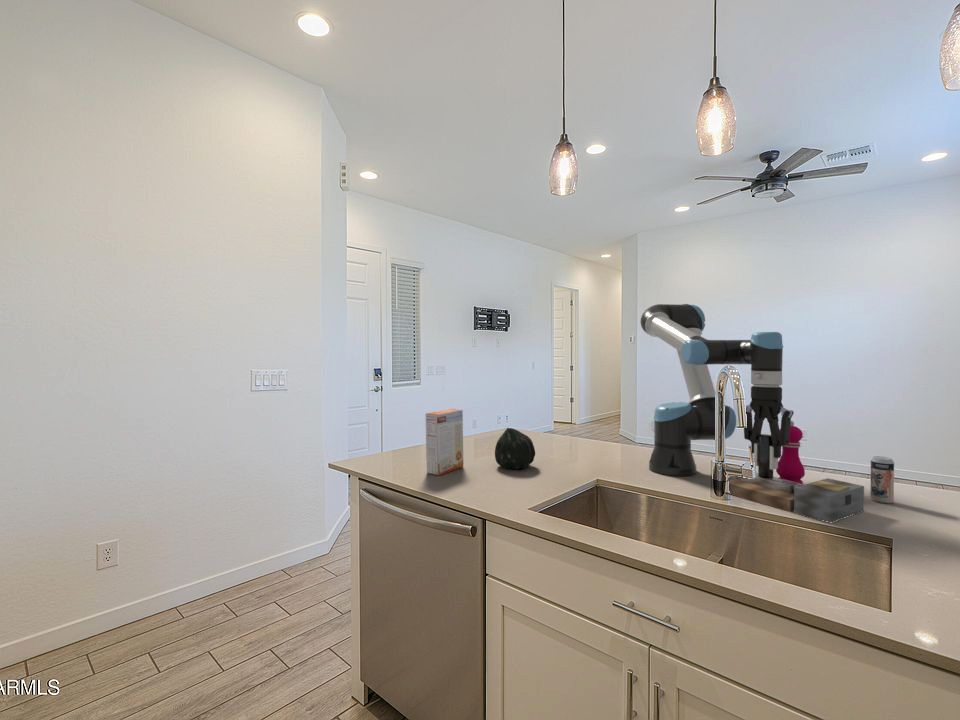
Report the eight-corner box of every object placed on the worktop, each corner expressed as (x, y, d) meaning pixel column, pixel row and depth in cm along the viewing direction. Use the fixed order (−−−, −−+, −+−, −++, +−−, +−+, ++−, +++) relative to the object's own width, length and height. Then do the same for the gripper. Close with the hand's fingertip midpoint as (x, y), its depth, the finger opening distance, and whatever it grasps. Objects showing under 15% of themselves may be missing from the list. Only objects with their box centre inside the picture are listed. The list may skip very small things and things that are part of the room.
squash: (544, 448, 163) (517, 417, 165) (540, 459, 149) (511, 426, 150) (516, 471, 166) (490, 441, 168) (509, 485, 152) (481, 451, 153)
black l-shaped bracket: (751, 481, 128) (751, 434, 128) (758, 479, 130) (758, 433, 129) (797, 493, 117) (797, 441, 117) (804, 491, 119) (804, 440, 119)
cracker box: (451, 464, 161) (450, 408, 161) (464, 467, 158) (463, 409, 157) (425, 473, 150) (424, 412, 150) (438, 476, 146) (438, 413, 146)
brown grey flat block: (722, 492, 129) (722, 468, 129) (756, 483, 137) (756, 461, 137) (831, 523, 105) (831, 494, 105) (863, 511, 113) (864, 484, 113)
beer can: (866, 499, 122) (866, 456, 121) (876, 497, 124) (876, 455, 123) (888, 505, 117) (888, 460, 117) (897, 502, 119) (898, 458, 119)
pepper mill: (809, 489, 131) (810, 422, 131) (782, 488, 132) (783, 422, 132) (797, 482, 138) (797, 419, 138) (771, 481, 139) (772, 418, 139)
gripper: (730, 384, 131) (729, 462, 132) (791, 388, 117) (790, 475, 117) (744, 383, 135) (744, 459, 135) (806, 387, 120) (805, 472, 121)
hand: (765, 466), depth 126 cm, fingers closed on black l-shaped bracket, 4 cm apart
